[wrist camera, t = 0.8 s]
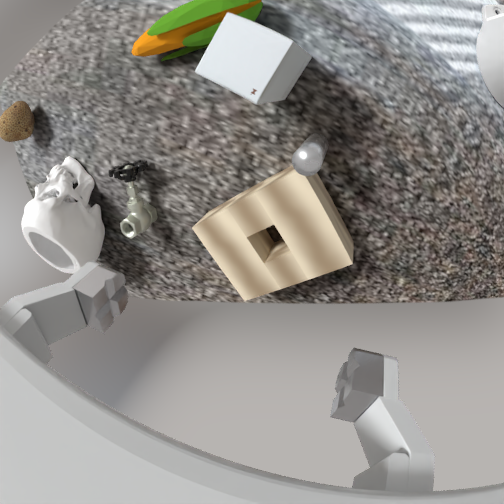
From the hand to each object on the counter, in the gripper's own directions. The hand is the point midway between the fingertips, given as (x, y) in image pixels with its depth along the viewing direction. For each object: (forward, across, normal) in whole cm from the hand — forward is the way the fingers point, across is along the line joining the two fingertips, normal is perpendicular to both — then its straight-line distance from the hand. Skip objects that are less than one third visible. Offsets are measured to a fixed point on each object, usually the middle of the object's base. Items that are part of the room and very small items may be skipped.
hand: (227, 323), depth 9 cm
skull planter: (+34, +44, +20) cm, 58 cm away
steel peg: (+33, 0, +1) cm, 33 cm away
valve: (+34, +27, +14) cm, 46 cm away
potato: (+34, +62, 0) cm, 71 cm away
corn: (+33, +19, -14) cm, 41 cm away
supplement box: (+33, +8, -9) cm, 35 cm away
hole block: (+33, +3, +14) cm, 36 cm away
